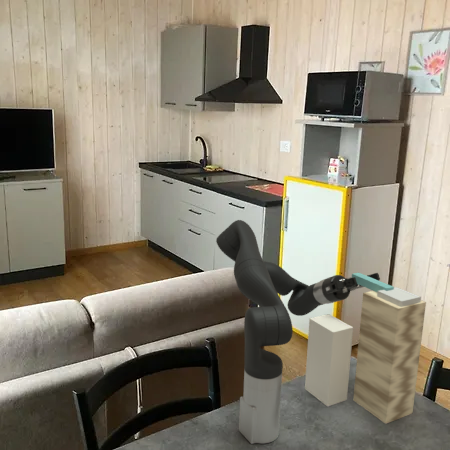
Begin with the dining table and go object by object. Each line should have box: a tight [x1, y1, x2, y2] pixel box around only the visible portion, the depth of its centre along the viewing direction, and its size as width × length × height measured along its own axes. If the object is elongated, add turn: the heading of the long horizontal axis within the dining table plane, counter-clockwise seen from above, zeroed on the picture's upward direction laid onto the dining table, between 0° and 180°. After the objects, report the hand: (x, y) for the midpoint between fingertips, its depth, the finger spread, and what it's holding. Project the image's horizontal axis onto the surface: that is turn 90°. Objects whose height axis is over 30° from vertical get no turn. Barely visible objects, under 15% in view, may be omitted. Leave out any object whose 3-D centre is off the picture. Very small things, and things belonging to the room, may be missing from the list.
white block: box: [304, 314, 354, 407], centre depth 140 cm, size 7×10×22 cm
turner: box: [351, 272, 422, 307], centre depth 134 cm, size 7×20×2 cm, turn 29°
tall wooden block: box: [353, 290, 427, 425], centre depth 134 cm, size 10×12×32 cm
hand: (367, 278), depth 138 cm, fingers open, 8 cm apart
